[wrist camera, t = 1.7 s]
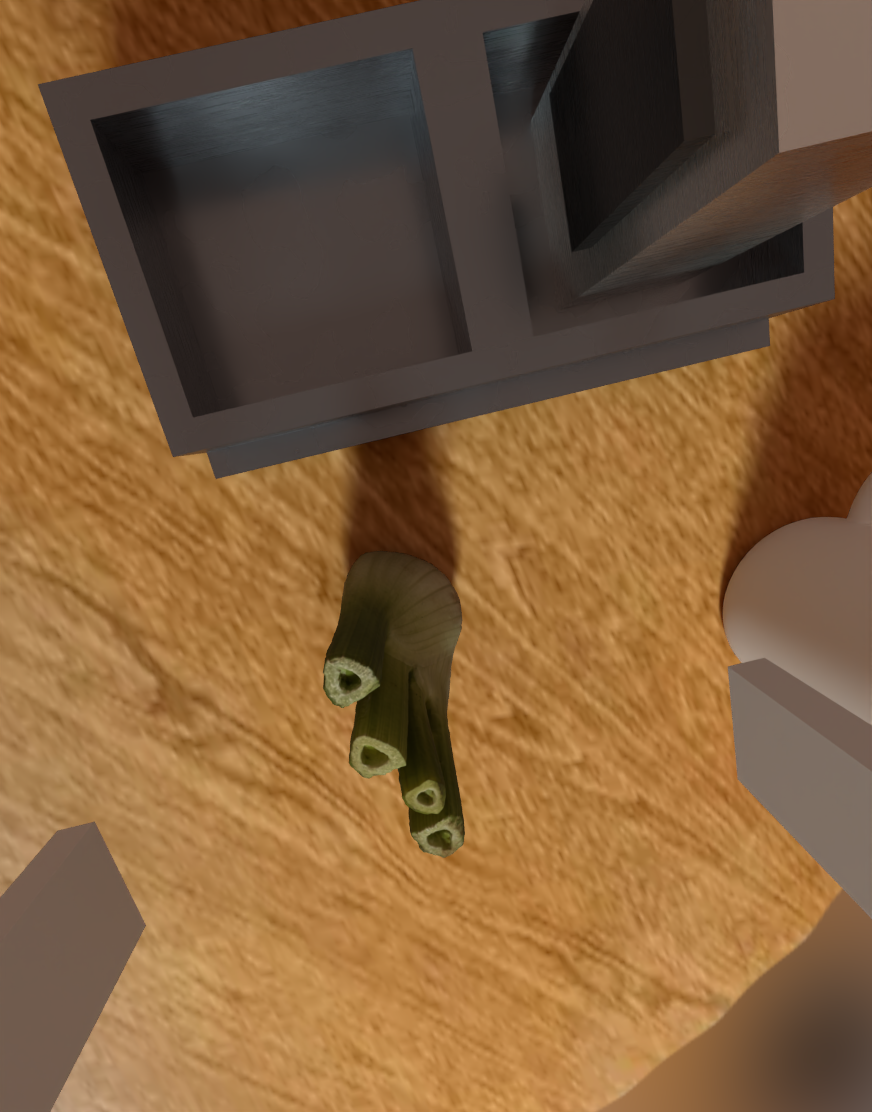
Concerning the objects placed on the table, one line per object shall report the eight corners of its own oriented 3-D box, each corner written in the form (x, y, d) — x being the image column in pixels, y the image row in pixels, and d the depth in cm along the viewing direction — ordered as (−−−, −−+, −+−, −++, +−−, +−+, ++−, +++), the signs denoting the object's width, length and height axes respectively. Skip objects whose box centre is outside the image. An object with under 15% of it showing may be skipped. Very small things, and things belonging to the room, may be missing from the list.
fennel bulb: (343, 536, 22) (286, 659, 10) (457, 535, 22) (528, 654, 10) (347, 660, 23) (301, 895, 11) (454, 658, 23) (514, 882, 12)
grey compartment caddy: (228, 475, 21) (-7, 540, 8) (114, 136, 17) (-512, -522, 5) (743, 351, 21) (1216, 246, 9) (720, 0, 18) (1391, -877, 6)
